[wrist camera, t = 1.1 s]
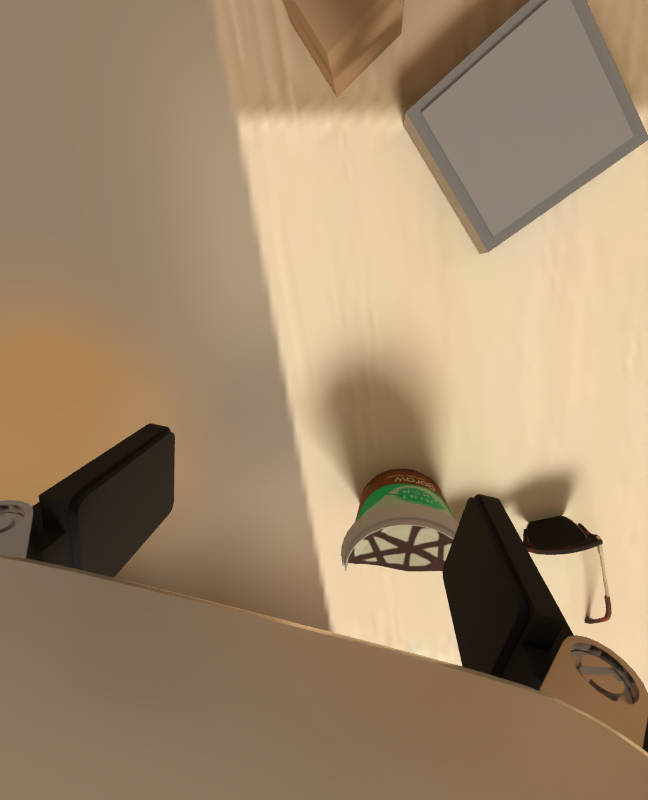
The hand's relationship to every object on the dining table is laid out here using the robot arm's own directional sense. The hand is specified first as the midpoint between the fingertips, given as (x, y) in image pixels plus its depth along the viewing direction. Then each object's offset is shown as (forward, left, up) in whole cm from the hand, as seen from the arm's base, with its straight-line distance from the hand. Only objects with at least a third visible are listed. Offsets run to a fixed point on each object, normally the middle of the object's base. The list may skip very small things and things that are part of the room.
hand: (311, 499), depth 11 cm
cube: (-13, -20, -26) cm, 35 cm away
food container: (+5, +16, -26) cm, 30 cm away
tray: (-19, -6, -26) cm, 33 cm away
